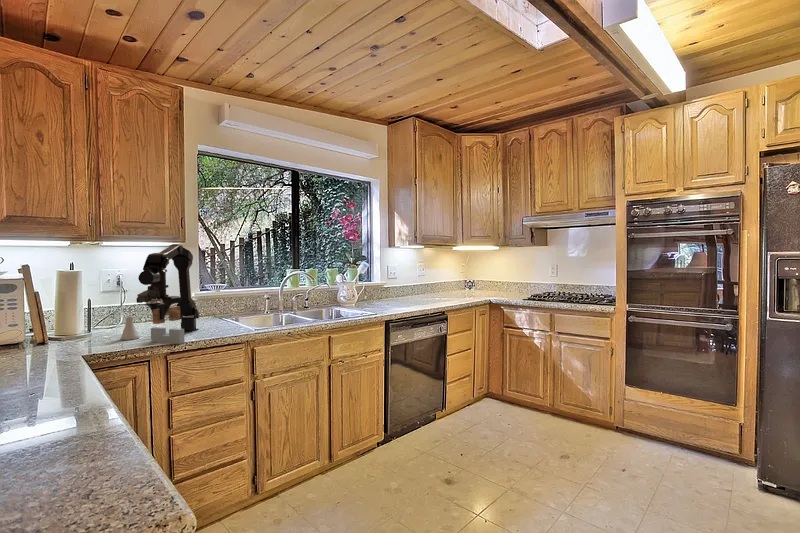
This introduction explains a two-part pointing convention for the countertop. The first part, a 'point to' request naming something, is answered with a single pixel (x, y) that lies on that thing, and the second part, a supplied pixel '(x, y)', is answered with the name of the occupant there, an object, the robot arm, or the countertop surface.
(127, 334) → the flask
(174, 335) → the slotted stand
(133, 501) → the countertop surface
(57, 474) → the countertop surface
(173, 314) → the walnut board
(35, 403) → the countertop surface
